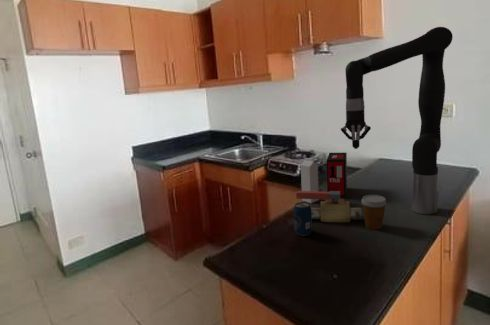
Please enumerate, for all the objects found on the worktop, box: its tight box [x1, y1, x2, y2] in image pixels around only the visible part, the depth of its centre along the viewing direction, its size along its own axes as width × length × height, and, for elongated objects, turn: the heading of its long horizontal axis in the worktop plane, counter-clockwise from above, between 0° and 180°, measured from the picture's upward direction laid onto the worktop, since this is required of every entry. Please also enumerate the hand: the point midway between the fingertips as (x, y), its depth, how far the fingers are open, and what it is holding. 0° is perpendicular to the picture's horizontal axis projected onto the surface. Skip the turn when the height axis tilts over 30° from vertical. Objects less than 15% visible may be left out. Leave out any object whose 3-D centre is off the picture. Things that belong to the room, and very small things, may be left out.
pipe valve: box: [311, 198, 363, 223], centre depth 145 cm, size 25×7×9 cm, turn 78°
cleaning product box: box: [326, 152, 348, 199], centre depth 175 cm, size 16×9×20 cm, turn 161°
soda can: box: [293, 201, 313, 237], centre depth 134 cm, size 7×7×12 cm
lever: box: [295, 190, 341, 201], centre depth 145 cm, size 18×4×3 cm, turn 72°
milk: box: [300, 157, 320, 204], centre depth 167 cm, size 6×6×22 cm
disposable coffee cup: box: [360, 194, 388, 230], centre depth 134 cm, size 10×10×12 cm
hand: (355, 148), depth 148 cm, fingers closed
